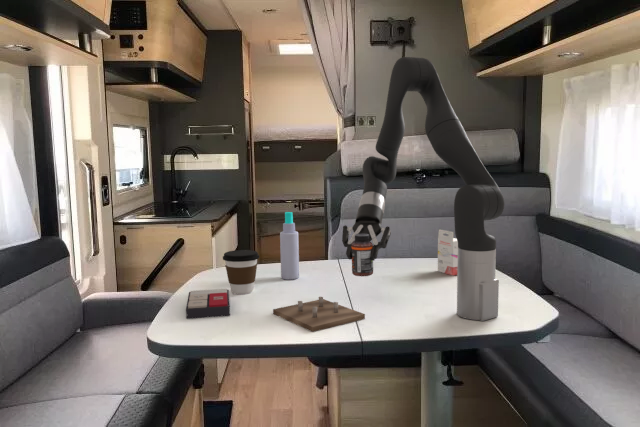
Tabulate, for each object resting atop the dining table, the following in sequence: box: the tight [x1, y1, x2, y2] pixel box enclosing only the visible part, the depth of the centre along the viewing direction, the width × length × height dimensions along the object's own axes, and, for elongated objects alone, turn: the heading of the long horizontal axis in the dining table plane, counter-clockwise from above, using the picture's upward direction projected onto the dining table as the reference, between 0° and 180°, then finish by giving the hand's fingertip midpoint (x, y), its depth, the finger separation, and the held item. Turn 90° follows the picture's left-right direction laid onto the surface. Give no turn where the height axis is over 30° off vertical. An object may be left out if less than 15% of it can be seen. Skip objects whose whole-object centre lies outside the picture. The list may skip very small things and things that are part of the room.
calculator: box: [185, 288, 231, 320], centre depth 147 cm, size 11×4×15 cm
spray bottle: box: [279, 211, 300, 281], centre depth 180 cm, size 6×6×22 cm
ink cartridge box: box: [437, 229, 458, 277], centre depth 185 cm, size 9×5×15 cm, turn 25°
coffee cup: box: [222, 249, 260, 295], centre depth 164 cm, size 11×11×12 cm
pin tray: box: [272, 296, 366, 333], centre depth 139 cm, size 18×16×4 cm
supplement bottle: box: [351, 234, 374, 277], centre depth 151 cm, size 6×6×11 cm
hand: (360, 258), depth 150 cm, fingers closed on supplement bottle, 6 cm apart
